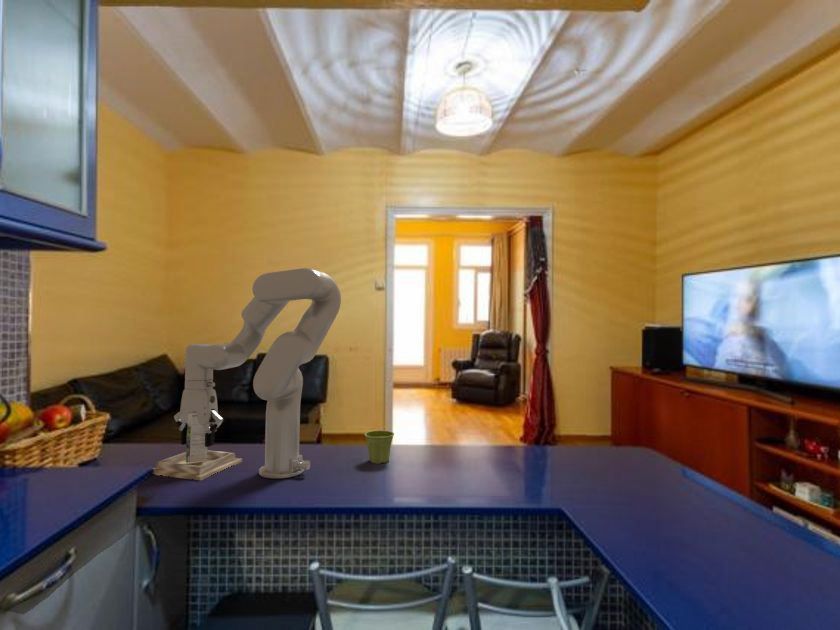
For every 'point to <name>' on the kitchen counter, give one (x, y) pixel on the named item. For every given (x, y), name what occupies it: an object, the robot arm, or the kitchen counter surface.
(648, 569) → the kitchen counter surface
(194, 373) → the robot arm
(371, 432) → the plant pot
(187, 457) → the syrup box
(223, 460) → the tray
